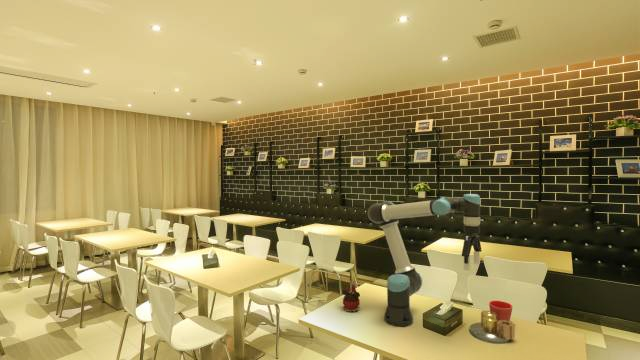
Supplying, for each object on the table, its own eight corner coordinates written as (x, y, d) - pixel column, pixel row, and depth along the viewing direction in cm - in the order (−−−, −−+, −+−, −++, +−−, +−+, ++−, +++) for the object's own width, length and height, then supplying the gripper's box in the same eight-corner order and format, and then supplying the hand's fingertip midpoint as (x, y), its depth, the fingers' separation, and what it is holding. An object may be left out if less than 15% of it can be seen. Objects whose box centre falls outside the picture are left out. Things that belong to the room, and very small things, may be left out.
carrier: (470, 338, 157) (470, 322, 157) (469, 321, 175) (469, 307, 175) (513, 346, 150) (513, 329, 150) (508, 327, 168) (508, 312, 168)
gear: (497, 337, 155) (497, 325, 155) (496, 331, 162) (496, 318, 162) (515, 340, 152) (515, 327, 152) (513, 333, 159) (513, 321, 159)
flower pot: (515, 328, 168) (515, 309, 168) (492, 326, 170) (492, 307, 170) (508, 319, 178) (508, 301, 178) (486, 317, 180) (486, 299, 180)
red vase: (339, 310, 192) (339, 279, 191) (346, 304, 200) (346, 275, 199) (356, 314, 186) (355, 282, 186) (363, 308, 194) (362, 278, 194)
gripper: (470, 228, 154) (470, 274, 155) (487, 222, 172) (487, 263, 173) (454, 227, 159) (454, 270, 160) (472, 221, 177) (472, 260, 178)
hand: (471, 266), depth 166 cm, fingers open, 13 cm apart
